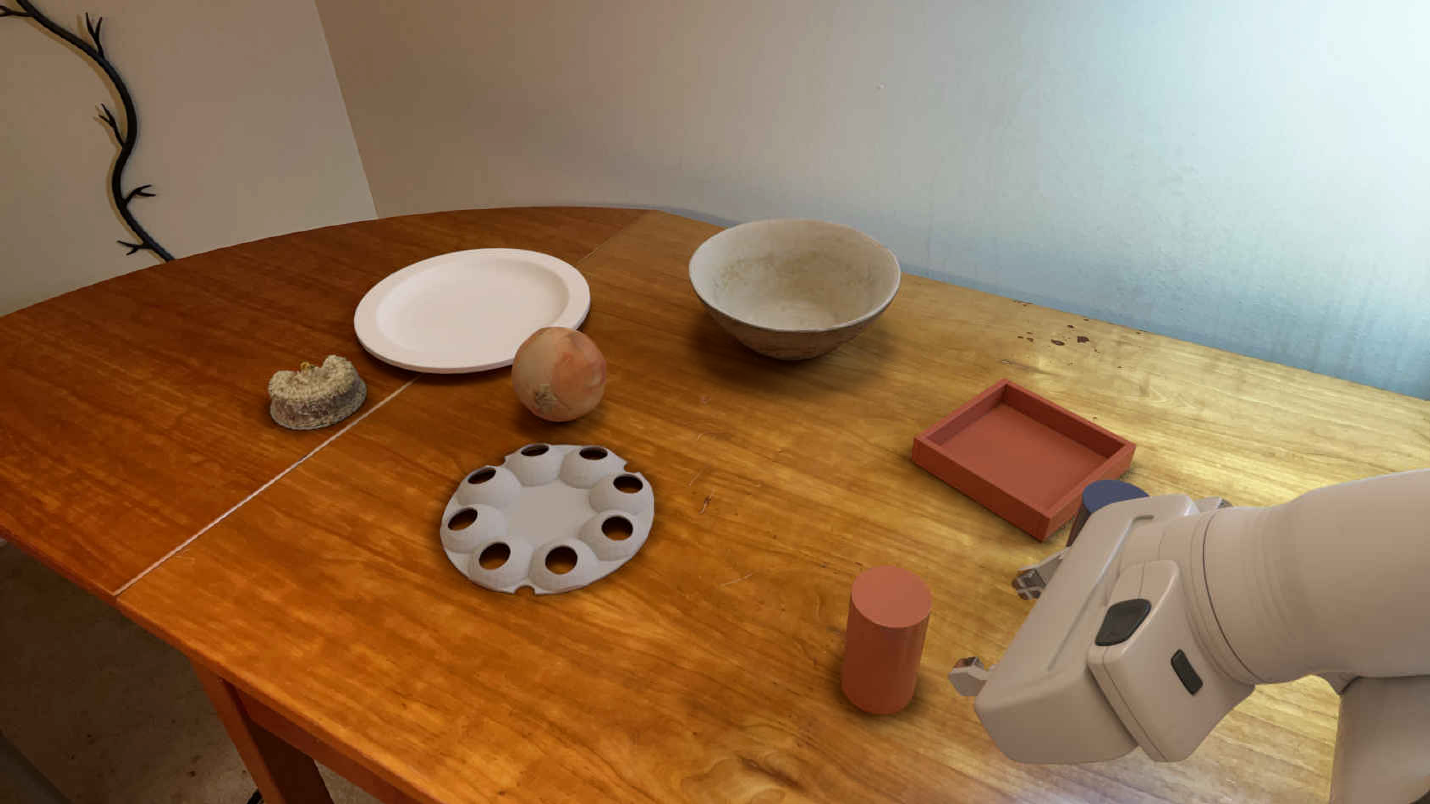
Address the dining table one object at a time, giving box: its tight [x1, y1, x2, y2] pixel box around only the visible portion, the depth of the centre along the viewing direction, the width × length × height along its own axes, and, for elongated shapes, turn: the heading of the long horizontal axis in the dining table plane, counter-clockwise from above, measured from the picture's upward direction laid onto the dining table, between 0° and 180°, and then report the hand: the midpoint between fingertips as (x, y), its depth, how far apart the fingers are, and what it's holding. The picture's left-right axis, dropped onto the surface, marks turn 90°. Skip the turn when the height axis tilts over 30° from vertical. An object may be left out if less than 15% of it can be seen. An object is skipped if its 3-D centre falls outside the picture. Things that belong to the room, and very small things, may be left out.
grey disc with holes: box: [439, 442, 655, 596], centre depth 84 cm, size 20×20×2 cm
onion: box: [511, 327, 607, 423], centre depth 94 cm, size 10×10×10 cm
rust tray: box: [910, 377, 1138, 543], centre depth 88 cm, size 15×15×3 cm
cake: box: [267, 354, 368, 431], centre depth 97 cm, size 10×10×5 cm
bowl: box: [688, 218, 902, 362], centre depth 105 cm, size 24×24×10 cm
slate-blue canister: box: [1064, 479, 1151, 548], centre depth 73 cm, size 6×6×10 cm
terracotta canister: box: [839, 565, 933, 716], centre depth 66 cm, size 6×6×10 cm
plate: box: [353, 247, 591, 374], centre depth 111 cm, size 28×28×2 cm
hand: (990, 628), depth 59 cm, fingers open, 8 cm apart
